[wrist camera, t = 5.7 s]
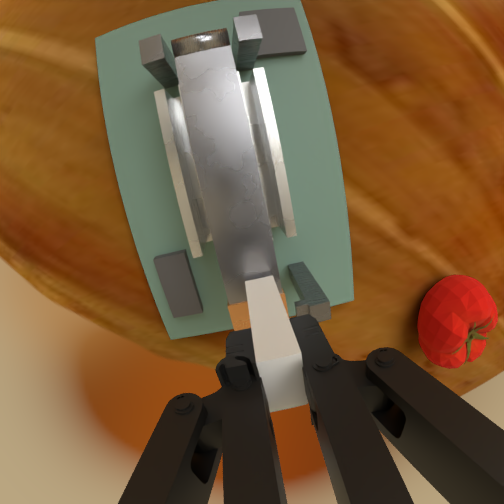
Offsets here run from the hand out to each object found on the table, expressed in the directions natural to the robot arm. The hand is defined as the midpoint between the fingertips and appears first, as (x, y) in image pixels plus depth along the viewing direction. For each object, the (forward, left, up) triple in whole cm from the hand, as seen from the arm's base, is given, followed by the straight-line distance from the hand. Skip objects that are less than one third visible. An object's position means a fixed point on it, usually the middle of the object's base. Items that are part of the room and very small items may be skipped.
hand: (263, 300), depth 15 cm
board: (-7, 0, -8) cm, 11 cm away
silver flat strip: (-6, 0, -2) cm, 6 cm away
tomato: (+11, +19, -8) cm, 23 cm away
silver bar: (-7, 0, -6) cm, 9 cm away
